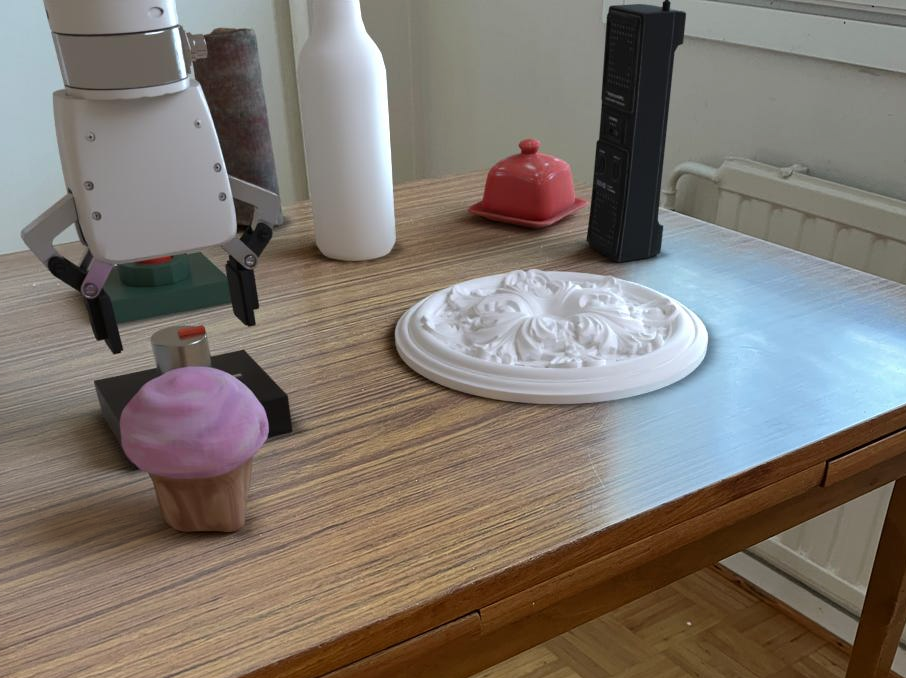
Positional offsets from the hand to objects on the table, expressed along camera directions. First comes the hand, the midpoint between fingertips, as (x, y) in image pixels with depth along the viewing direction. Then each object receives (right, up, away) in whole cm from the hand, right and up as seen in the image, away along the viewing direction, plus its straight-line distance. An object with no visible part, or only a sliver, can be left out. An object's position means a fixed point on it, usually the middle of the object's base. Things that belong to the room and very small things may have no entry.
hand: (181, 333), depth 71 cm
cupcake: (+4, -14, -6) cm, 16 cm away
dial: (0, -3, +3) cm, 4 cm away
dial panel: (0, -6, +5) cm, 7 cm away
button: (-10, +15, +24) cm, 30 cm away
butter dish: (+27, +29, +47) cm, 62 cm away
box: (-10, +12, +26) cm, 30 cm away
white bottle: (+8, +21, +38) cm, 44 cm away
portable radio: (+37, +21, +37) cm, 56 cm away
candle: (-6, +27, +45) cm, 53 cm away
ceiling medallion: (+28, +5, +18) cm, 34 cm away
